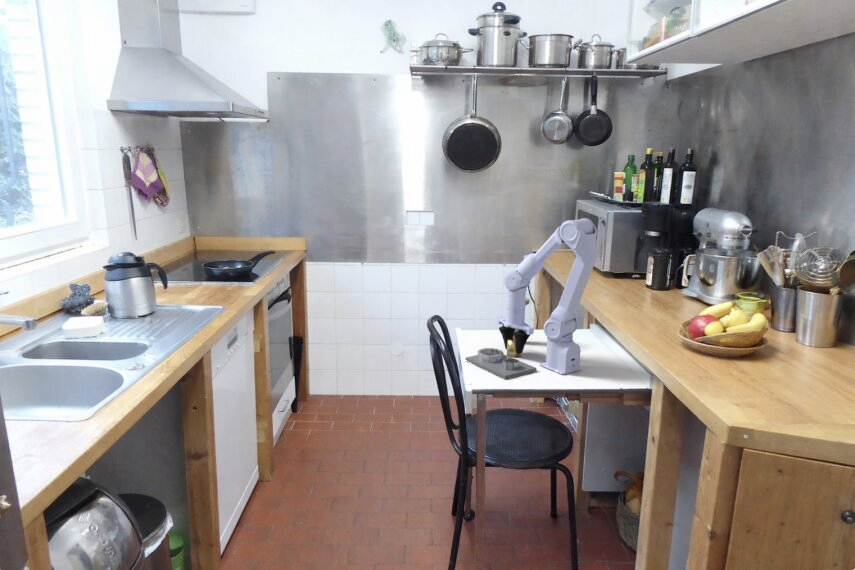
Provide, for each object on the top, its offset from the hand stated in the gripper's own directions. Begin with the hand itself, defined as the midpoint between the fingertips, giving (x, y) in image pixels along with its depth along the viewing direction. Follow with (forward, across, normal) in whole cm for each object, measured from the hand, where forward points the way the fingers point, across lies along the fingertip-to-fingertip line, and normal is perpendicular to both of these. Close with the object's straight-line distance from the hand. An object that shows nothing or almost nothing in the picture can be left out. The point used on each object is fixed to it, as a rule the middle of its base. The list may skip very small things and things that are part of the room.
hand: (513, 350), depth 178 cm
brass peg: (+1, 0, 0) cm, 1 cm away
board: (+1, +5, -10) cm, 11 cm away
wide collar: (+1, 0, -10) cm, 10 cm away
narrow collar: (+1, +10, -10) cm, 14 cm away
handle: (+2, -9, +10) cm, 14 cm away
